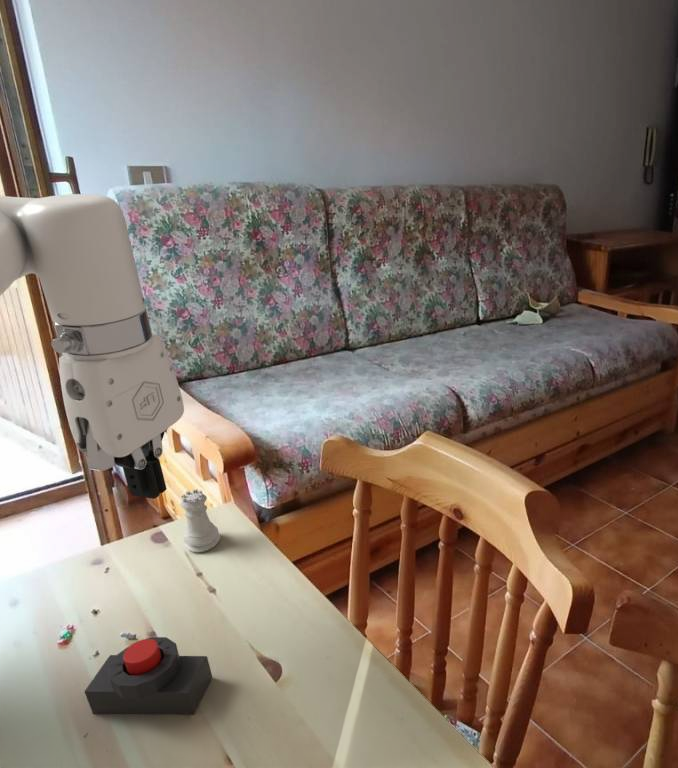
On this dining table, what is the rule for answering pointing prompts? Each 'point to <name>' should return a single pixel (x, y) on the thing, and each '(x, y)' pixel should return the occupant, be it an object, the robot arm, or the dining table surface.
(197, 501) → the rook chess piece
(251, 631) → the dining table surface
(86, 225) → the robot arm
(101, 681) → the power button base
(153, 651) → the power button
